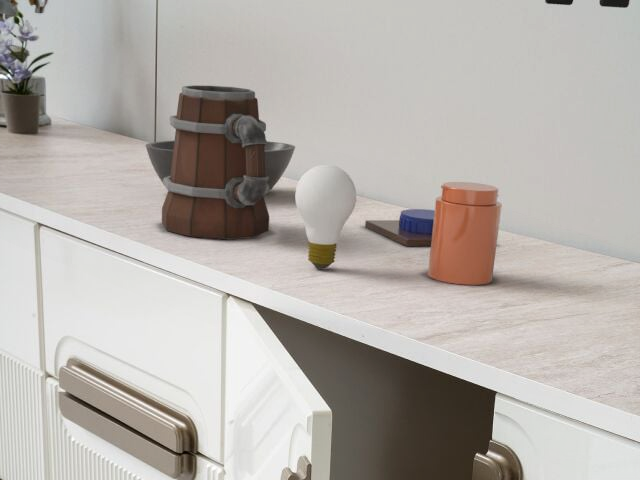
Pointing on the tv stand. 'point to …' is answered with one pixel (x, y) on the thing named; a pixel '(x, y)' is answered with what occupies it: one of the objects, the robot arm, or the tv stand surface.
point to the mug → (217, 165)
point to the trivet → (398, 233)
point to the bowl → (274, 159)
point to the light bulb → (324, 209)
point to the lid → (417, 220)
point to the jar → (465, 233)
